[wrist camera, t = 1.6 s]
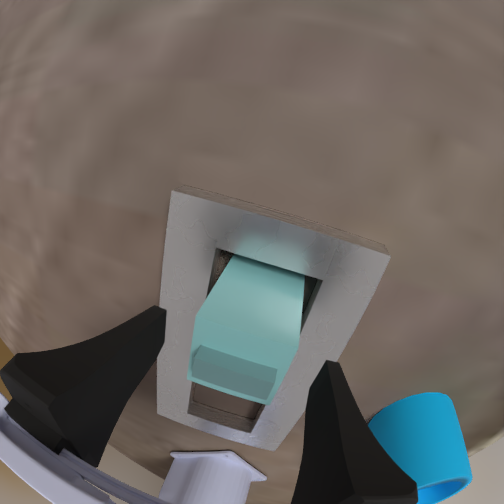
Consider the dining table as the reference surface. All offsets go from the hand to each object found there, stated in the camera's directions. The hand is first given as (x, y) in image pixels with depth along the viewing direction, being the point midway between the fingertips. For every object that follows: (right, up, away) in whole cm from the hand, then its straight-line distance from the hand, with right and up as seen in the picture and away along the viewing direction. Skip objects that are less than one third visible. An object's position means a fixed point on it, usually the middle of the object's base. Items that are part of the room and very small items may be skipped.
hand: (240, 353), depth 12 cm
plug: (+1, +2, +5) cm, 5 cm away
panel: (0, -2, +7) cm, 7 cm away
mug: (+16, -12, +8) cm, 21 cm away
